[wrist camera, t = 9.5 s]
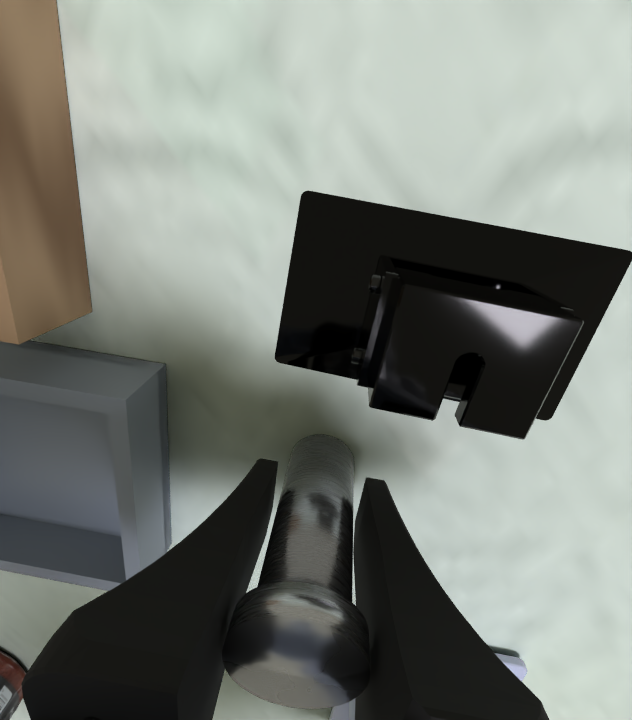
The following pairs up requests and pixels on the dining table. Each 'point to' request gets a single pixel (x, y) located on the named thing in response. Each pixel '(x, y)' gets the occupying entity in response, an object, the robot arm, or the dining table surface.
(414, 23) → the dining table surface
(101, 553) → the tray
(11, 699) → the supplement bottle
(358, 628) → the pin
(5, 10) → the bar
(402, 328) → the build plate
